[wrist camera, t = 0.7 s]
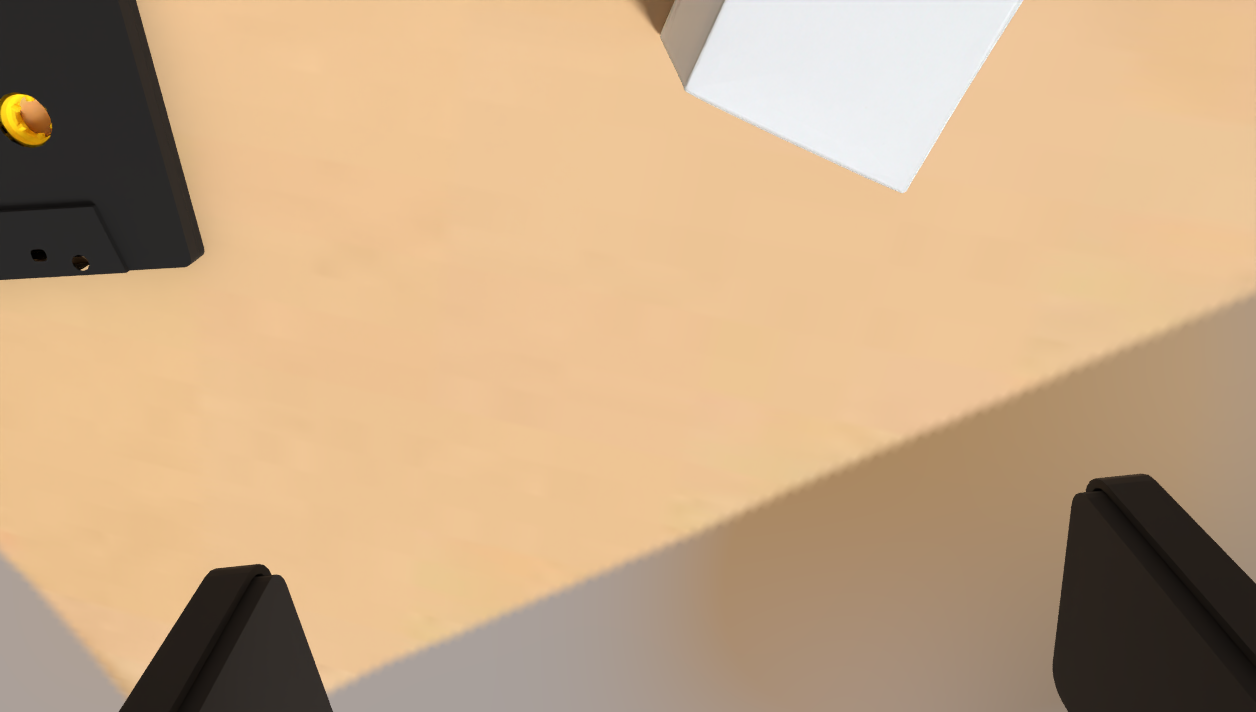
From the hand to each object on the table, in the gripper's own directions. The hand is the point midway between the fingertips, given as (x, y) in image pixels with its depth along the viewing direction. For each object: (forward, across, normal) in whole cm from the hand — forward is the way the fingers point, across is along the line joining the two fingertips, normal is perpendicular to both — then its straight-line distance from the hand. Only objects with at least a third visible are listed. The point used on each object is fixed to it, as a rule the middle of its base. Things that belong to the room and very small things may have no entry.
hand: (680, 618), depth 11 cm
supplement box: (+29, -6, -5) cm, 30 cm away
